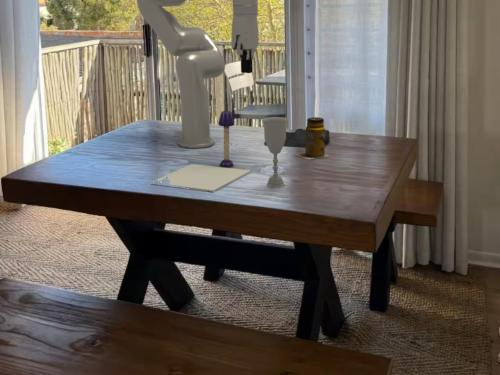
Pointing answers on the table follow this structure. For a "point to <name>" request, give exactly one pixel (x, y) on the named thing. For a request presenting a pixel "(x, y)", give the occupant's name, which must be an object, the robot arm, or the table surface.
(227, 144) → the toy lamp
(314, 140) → the condiment
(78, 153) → the table surface
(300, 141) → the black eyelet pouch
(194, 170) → the mat
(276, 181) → the chalice
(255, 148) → the table surface
